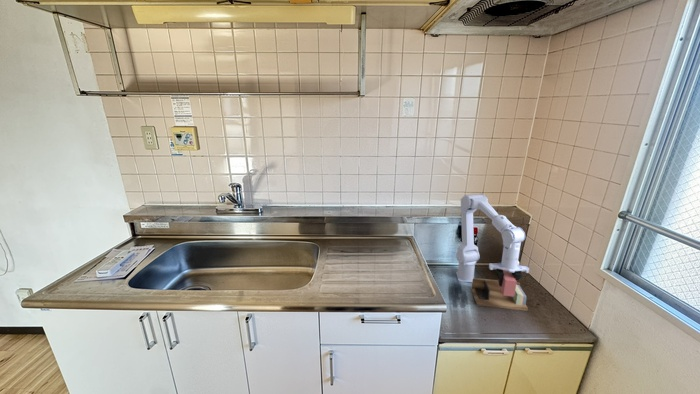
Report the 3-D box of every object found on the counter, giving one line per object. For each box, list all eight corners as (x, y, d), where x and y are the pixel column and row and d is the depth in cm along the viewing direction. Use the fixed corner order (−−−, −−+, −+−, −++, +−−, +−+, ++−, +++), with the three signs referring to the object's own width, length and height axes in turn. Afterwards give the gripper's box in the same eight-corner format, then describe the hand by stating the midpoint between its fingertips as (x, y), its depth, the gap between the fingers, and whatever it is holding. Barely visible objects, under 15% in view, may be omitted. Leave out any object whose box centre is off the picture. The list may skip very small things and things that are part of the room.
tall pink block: (497, 283, 124) (499, 269, 122) (507, 284, 123) (509, 270, 121) (503, 295, 115) (505, 280, 113) (514, 296, 114) (516, 281, 112)
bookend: (474, 288, 132) (475, 279, 131) (484, 289, 132) (485, 280, 130) (478, 299, 125) (479, 289, 124) (488, 300, 124) (490, 290, 123)
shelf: (471, 289, 134) (472, 277, 132) (517, 294, 130) (519, 282, 128) (476, 305, 123) (478, 292, 121) (527, 310, 118) (529, 298, 117)
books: (509, 292, 129) (510, 282, 128) (517, 293, 129) (519, 283, 127) (516, 304, 121) (517, 294, 120) (525, 305, 120) (527, 295, 119)
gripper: (493, 259, 113) (489, 289, 116) (534, 262, 110) (528, 293, 113) (489, 251, 119) (485, 279, 123) (527, 254, 116) (522, 283, 120)
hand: (506, 285), depth 119 cm, fingers closed on tall pink block, 4 cm apart
